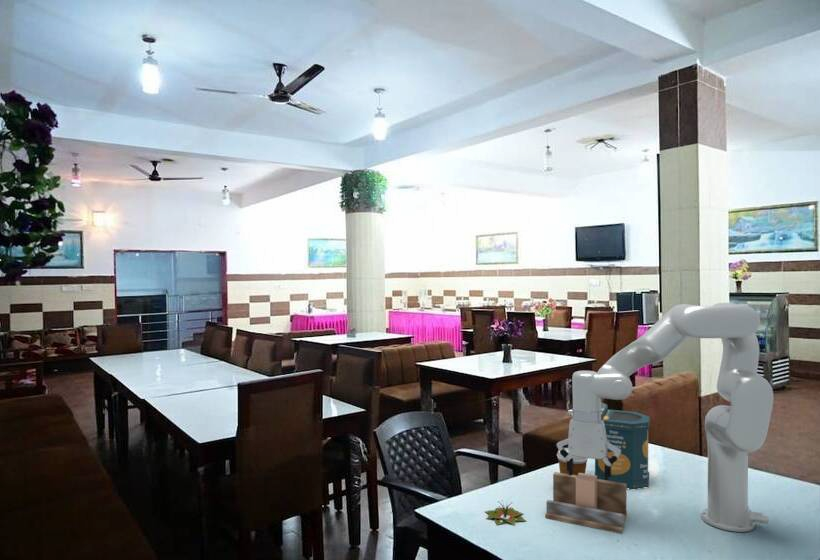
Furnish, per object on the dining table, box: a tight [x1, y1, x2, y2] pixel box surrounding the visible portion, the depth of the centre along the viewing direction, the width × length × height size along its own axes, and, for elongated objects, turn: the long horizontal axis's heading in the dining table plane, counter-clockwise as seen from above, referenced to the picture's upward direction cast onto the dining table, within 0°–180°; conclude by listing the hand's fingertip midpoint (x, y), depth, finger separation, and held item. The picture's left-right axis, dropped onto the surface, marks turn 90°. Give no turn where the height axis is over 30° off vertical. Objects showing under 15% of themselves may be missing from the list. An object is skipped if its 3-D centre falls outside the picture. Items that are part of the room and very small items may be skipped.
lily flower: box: [484, 499, 527, 526], centre depth 151 cm, size 12×12×5 cm
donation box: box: [593, 401, 650, 490], centre depth 179 cm, size 16×16×28 cm
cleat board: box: [544, 471, 628, 535], centre depth 152 cm, size 20×13×9 cm, turn 63°
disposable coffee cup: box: [556, 447, 589, 475], centre depth 170 cm, size 10×10×12 cm
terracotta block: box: [576, 473, 597, 509], centre depth 152 cm, size 5×5×10 cm
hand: (588, 476), depth 152 cm, fingers open, 9 cm apart
